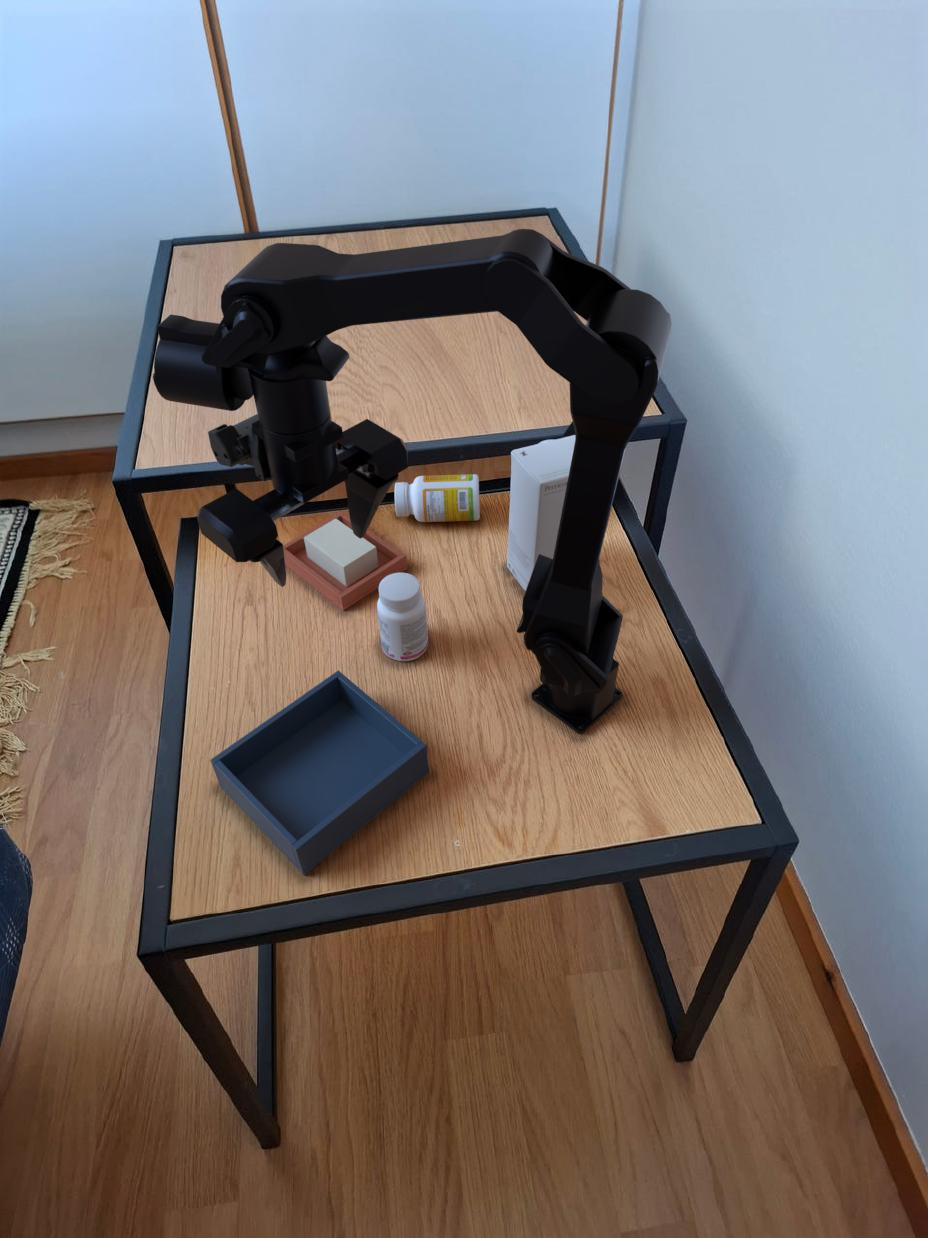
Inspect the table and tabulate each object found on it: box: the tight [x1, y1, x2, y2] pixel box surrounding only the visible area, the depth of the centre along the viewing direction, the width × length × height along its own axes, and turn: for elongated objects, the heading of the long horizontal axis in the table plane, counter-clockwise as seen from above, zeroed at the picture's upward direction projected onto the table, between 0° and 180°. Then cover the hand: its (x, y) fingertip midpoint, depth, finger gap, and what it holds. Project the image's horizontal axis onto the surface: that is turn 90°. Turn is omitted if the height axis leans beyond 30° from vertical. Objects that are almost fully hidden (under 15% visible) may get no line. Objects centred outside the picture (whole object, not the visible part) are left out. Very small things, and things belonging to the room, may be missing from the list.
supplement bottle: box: [394, 473, 481, 523], centre depth 102 cm, size 5×5×10 cm
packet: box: [304, 519, 378, 587], centre depth 97 cm, size 7×5×3 cm, turn 45°
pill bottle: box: [376, 572, 429, 662], centre depth 87 cm, size 5×5×8 cm
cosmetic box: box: [506, 435, 575, 592], centre depth 91 cm, size 8×7×16 cm
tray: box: [283, 510, 408, 611], centre depth 97 cm, size 11×9×2 cm
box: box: [209, 670, 430, 876], centre depth 77 cm, size 12×14×4 cm
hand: (320, 559), depth 81 cm, fingers open, 9 cm apart
